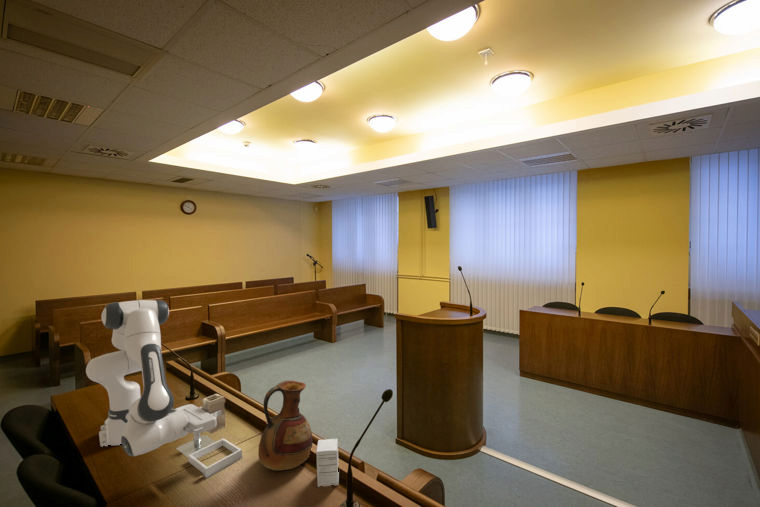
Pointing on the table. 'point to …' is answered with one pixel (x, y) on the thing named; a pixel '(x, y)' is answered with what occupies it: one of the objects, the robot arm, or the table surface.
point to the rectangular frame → (219, 464)
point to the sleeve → (215, 409)
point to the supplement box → (327, 462)
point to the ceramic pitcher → (285, 431)
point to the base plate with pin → (195, 444)
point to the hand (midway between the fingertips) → (216, 409)
